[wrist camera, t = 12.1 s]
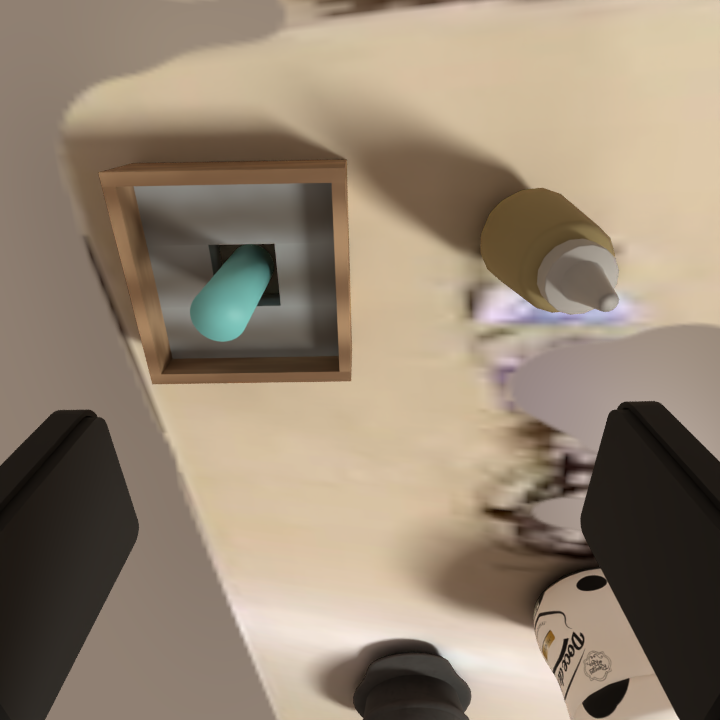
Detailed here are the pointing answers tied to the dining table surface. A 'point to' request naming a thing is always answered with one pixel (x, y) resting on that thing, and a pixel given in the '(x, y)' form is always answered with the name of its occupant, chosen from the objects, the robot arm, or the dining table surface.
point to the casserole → (412, 689)
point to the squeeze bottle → (550, 253)
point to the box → (202, 260)
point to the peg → (232, 294)
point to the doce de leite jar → (596, 652)
